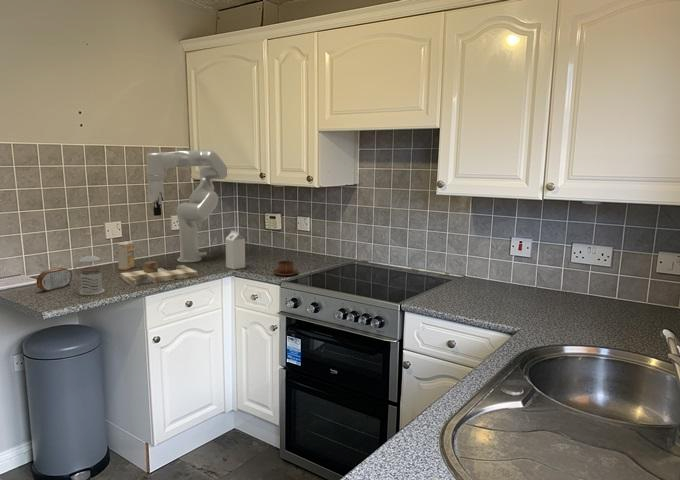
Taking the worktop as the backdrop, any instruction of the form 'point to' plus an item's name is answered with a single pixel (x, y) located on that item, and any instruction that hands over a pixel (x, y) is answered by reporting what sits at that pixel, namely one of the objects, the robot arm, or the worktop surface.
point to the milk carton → (235, 251)
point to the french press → (90, 276)
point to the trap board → (157, 275)
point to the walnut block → (150, 267)
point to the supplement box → (126, 255)
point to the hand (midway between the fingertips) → (157, 215)
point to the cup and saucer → (285, 268)
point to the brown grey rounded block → (54, 279)
